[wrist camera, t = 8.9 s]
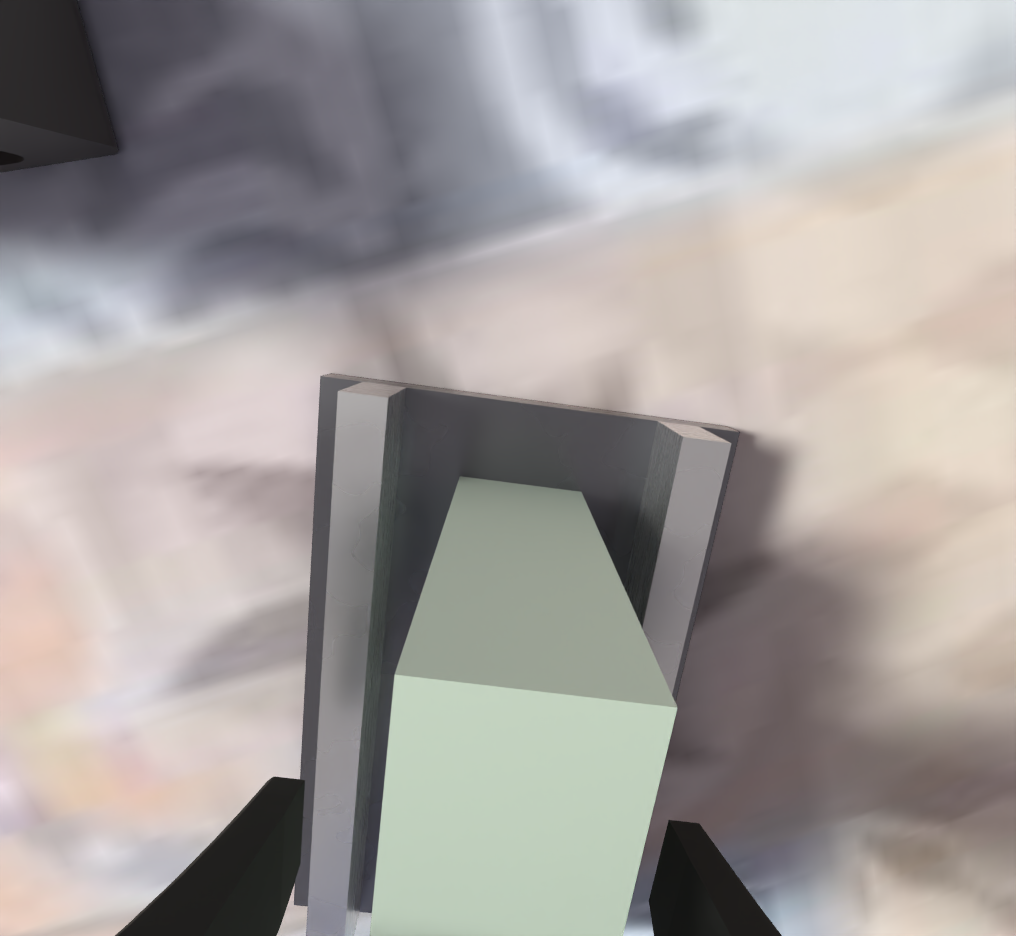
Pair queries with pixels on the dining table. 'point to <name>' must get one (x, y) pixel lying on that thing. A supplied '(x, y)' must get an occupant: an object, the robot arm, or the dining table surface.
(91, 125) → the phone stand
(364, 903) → the track
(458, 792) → the door panel
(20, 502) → the dining table surface
